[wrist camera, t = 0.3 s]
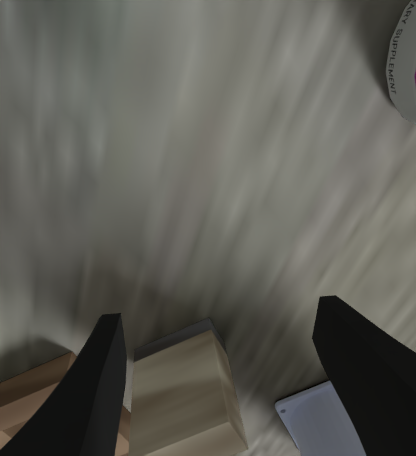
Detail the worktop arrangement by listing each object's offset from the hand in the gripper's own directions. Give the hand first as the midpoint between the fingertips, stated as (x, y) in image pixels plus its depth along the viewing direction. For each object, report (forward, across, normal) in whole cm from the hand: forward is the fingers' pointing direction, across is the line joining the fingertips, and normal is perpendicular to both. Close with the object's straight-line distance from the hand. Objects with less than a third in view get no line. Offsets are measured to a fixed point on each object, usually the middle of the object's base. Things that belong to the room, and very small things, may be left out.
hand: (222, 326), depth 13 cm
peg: (+10, +1, +11) cm, 15 cm away
